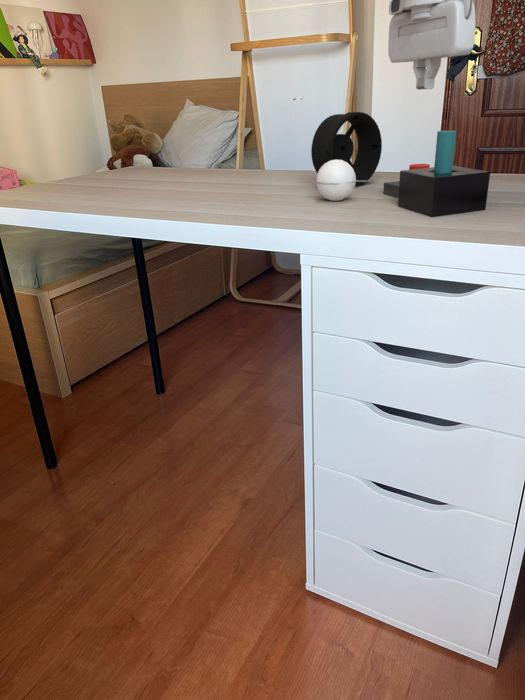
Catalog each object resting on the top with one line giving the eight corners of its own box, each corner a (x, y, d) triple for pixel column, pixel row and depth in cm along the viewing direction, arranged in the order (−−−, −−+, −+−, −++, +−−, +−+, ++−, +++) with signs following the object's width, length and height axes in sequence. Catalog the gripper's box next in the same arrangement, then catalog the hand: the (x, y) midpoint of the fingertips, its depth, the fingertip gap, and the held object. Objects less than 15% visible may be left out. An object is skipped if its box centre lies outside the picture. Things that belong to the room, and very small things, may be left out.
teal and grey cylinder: (441, 206, 89) (449, 130, 84) (451, 209, 87) (460, 130, 82) (427, 208, 89) (433, 131, 83) (437, 211, 86) (444, 132, 81)
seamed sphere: (307, 201, 99) (307, 160, 96) (335, 195, 103) (335, 156, 100) (347, 207, 92) (347, 163, 89) (374, 201, 96) (376, 159, 93)
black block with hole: (447, 200, 93) (451, 165, 91) (485, 210, 85) (490, 171, 82) (397, 207, 91) (399, 170, 88) (431, 217, 82) (435, 177, 80)
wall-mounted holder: (349, 110, 116) (383, 109, 108) (348, 178, 122) (380, 182, 114) (298, 114, 108) (330, 114, 101) (300, 187, 115) (330, 192, 107)
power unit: (428, 189, 105) (429, 168, 103) (452, 195, 98) (455, 172, 96) (383, 194, 102) (384, 172, 100) (405, 200, 95) (407, 177, 94)
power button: (421, 172, 100) (422, 163, 100) (432, 175, 97) (433, 165, 97) (405, 174, 100) (405, 164, 99) (415, 176, 96) (416, 166, 96)
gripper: (491, -18, 78) (479, 87, 84) (414, 4, 96) (409, 89, 102) (455, -18, 76) (445, 88, 82) (383, 5, 94) (379, 91, 100)
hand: (424, 89), depth 92 cm, fingers closed
